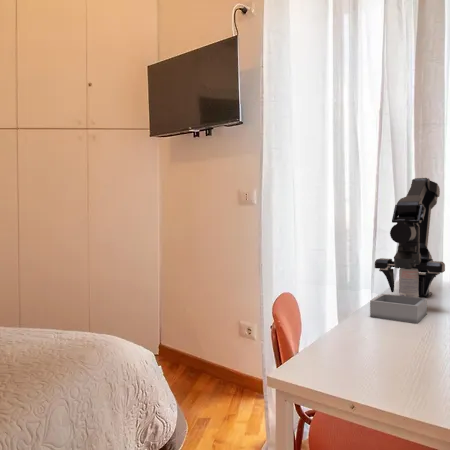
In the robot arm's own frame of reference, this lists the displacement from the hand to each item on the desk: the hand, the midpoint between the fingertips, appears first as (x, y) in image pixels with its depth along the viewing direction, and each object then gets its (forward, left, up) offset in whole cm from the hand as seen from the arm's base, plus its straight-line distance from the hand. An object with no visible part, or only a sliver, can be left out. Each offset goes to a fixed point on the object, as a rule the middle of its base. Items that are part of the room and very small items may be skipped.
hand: (408, 293), depth 122 cm
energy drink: (0, 0, -5) cm, 4 cm away
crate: (+12, 0, -4) cm, 12 cm away
